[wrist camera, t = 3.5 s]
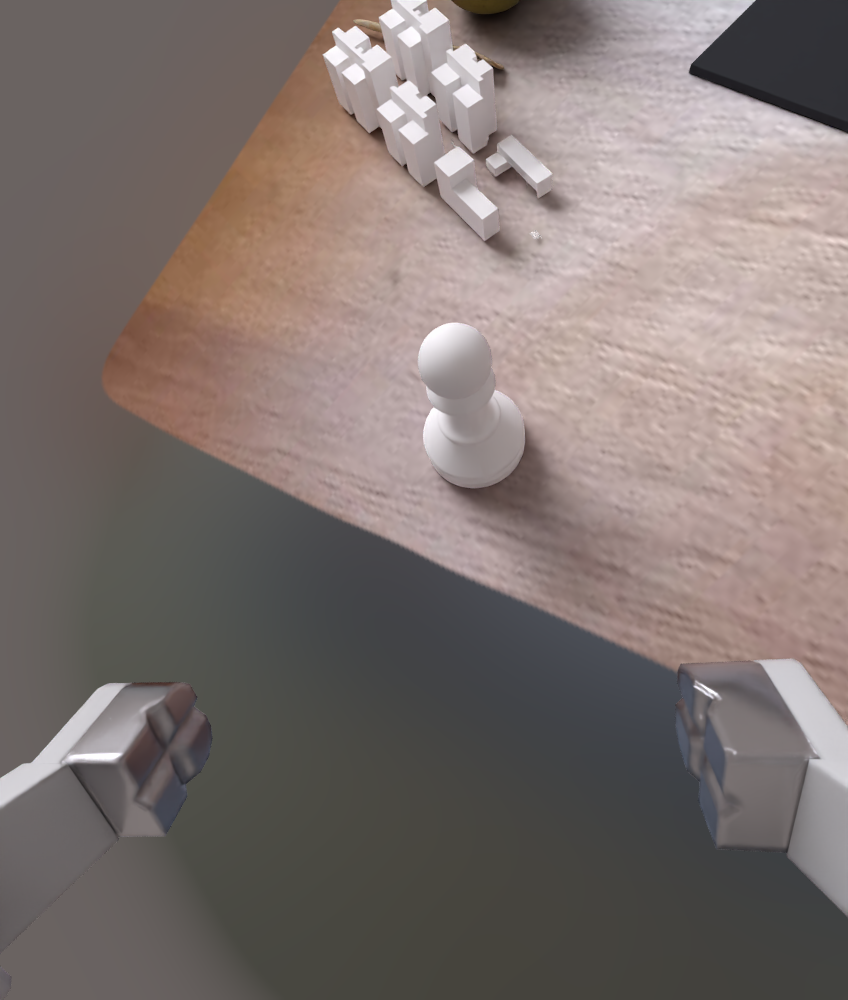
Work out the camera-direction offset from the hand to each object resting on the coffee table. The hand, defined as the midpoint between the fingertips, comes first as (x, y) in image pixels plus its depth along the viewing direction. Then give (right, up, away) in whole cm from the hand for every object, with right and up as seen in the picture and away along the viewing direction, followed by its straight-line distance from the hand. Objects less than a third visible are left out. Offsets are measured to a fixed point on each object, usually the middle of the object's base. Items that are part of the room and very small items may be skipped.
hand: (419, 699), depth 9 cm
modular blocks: (+1, +27, +25) cm, 37 cm away
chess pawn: (+3, +6, +18) cm, 20 cm away
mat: (+23, +30, +22) cm, 43 cm away
